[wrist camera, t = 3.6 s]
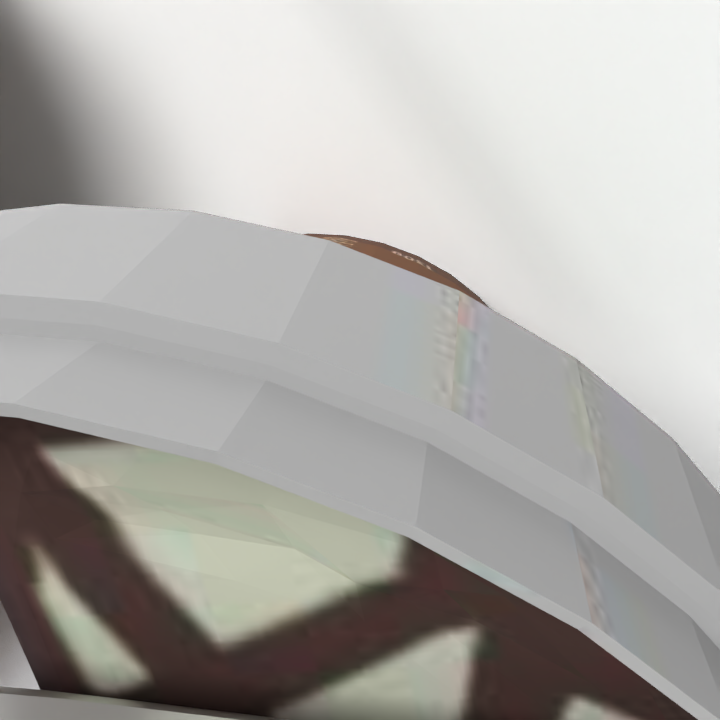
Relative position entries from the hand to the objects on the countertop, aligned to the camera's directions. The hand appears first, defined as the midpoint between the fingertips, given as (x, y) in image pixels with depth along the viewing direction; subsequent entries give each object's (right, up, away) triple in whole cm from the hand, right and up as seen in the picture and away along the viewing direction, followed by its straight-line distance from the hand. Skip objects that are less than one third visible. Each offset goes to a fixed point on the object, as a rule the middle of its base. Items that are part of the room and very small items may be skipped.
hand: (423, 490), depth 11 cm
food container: (+1, +1, +3) cm, 3 cm away
